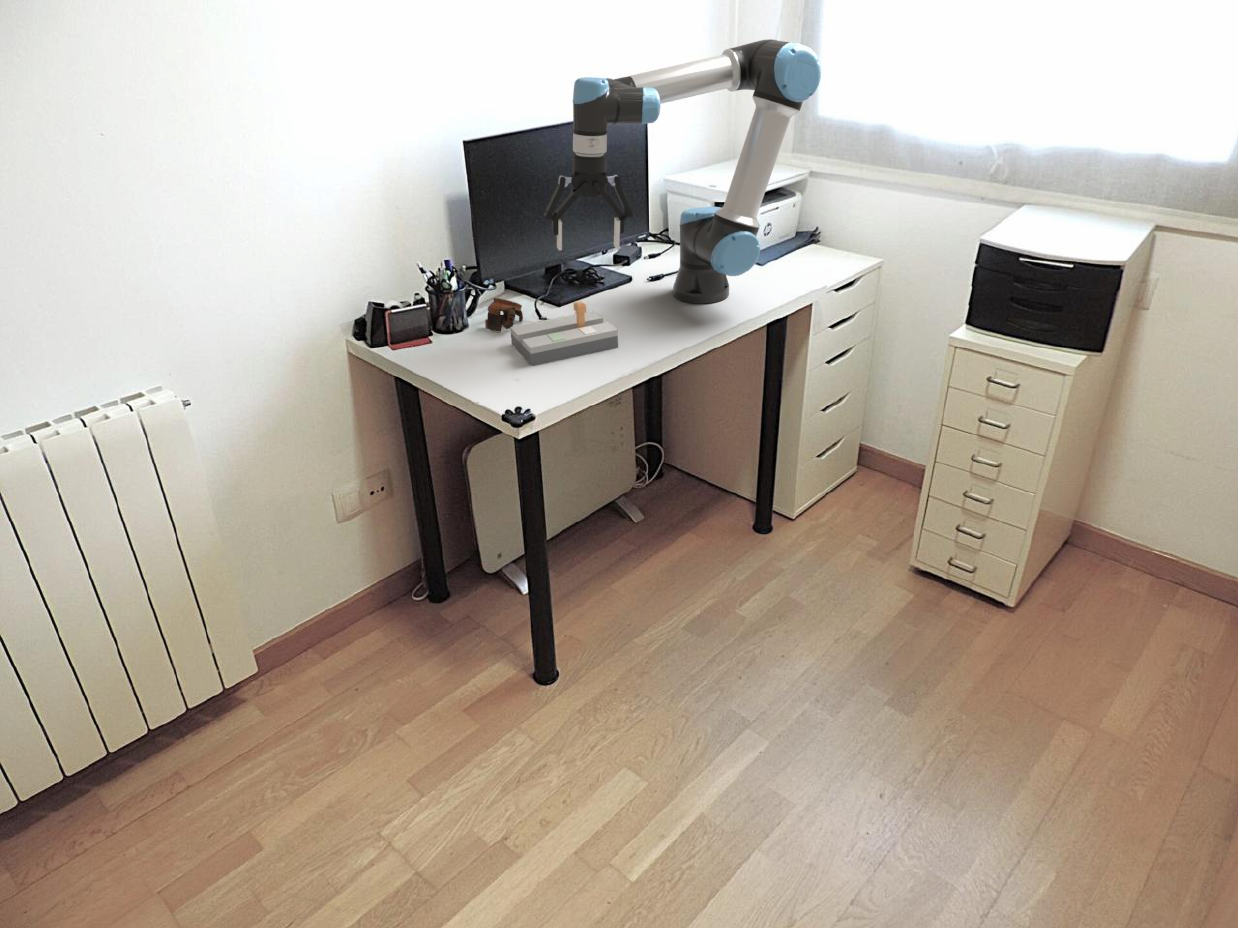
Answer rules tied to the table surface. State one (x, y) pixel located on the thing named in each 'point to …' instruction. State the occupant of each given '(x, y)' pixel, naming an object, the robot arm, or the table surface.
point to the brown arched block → (506, 318)
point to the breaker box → (563, 338)
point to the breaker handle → (580, 313)
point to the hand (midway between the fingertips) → (588, 248)
